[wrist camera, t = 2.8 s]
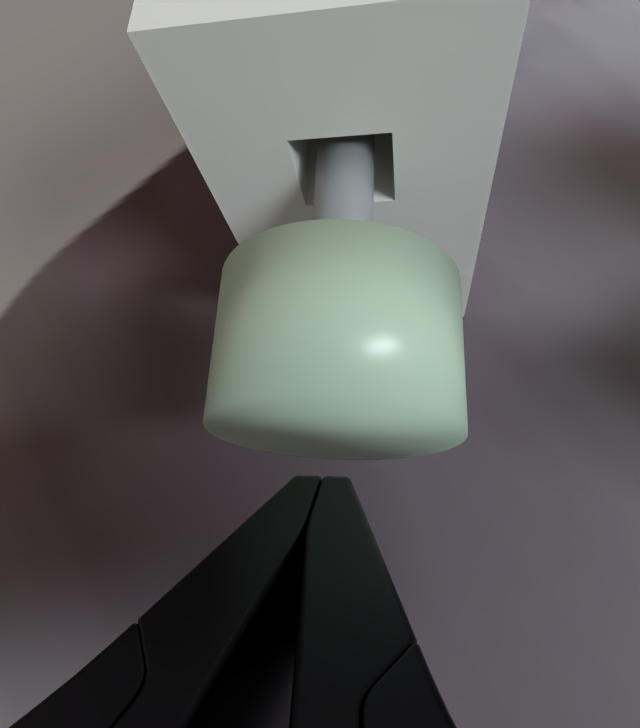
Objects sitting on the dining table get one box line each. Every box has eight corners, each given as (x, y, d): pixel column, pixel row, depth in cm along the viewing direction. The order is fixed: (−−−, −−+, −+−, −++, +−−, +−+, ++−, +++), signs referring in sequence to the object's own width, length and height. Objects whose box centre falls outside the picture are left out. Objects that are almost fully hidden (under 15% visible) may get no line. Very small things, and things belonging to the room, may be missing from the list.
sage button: (456, 461, 11) (484, 397, 7) (245, 457, 12) (156, 396, 8) (446, 194, 13) (462, 26, 9) (270, 205, 14) (212, 53, 10)
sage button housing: (463, 316, 17) (533, -16, 7) (278, 321, 18) (126, 32, 8) (457, 186, 19) (507, -220, 9) (289, 196, 20) (173, -161, 10)
